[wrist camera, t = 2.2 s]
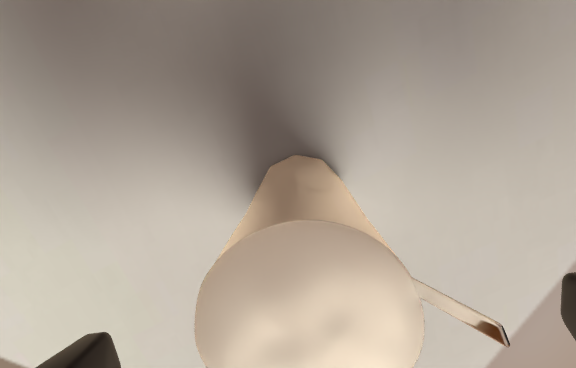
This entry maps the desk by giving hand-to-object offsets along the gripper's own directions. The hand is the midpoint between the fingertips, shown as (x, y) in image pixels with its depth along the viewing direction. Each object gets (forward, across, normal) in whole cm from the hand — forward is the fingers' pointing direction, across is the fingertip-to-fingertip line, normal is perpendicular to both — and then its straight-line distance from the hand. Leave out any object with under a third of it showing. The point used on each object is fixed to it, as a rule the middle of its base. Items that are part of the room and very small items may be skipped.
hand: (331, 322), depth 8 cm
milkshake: (+8, 0, 0) cm, 8 cm away
